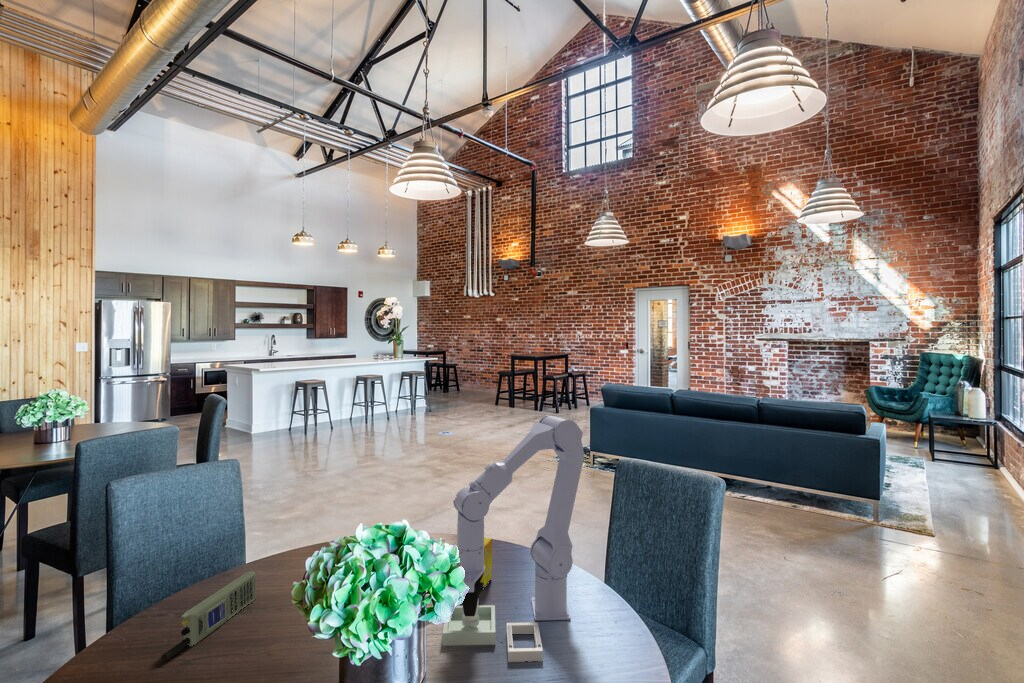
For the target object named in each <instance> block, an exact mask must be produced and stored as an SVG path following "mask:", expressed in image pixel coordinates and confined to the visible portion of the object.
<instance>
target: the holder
mask: <svg viewBox="0 0 1024 683" xmlns="http://www.w3.org/2000/svg"><path fill="white" fill-rule="evenodd" d="M539 627H540V626H539V623H538V622H532V621H531V622H528V621H527V622H506V643H507V646H506V647H507V662H508V663H526V662H525V661H528V662H532V661H538V662H543V661H544V660H543V659H544V656H543V655H544V653H543V652H544V650H543V644H542V638H541V634H540V628H539ZM512 634H534V635H533V642H534V641H535V642H534V646H535V647H517V648H515V647H514V642H513V641H514V639H513V635H512ZM528 662H527V663H528Z"/></svg>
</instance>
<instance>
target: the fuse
mask: <svg viewBox="0 0 1024 683" xmlns="http://www.w3.org/2000/svg"><path fill="white" fill-rule="evenodd" d="M479 600H480V598H478V602H477V608H476V613H475V616H465V615H464V611H463V616H462V625H463V626H465V627H469V628H471V627H475V626H477V625H478V624H479V606H480V605H479Z"/></svg>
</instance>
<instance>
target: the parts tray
mask: <svg viewBox="0 0 1024 683" xmlns="http://www.w3.org/2000/svg"><path fill="white" fill-rule="evenodd" d="M456 606H457V607H456V608H455V609H454V611H453V614H452V618H451V621H450V622H448V623H445V624H444V623H443V629H442V646H443V647H446V646H447V647H449V646H491V645H492V646H493V645H494V646H495V645H496V605H494V604H492V605H491V604H489V605H487V604H486V605H484V604H483V605H481V604H480V605H479V624H478V625H477V626H475V627H471V628H469V627H465V626H463V625H462V616H463V605H456Z"/></svg>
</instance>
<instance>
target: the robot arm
mask: <svg viewBox="0 0 1024 683" xmlns="http://www.w3.org/2000/svg"><path fill="white" fill-rule="evenodd" d="M583 434H584V432H583V431H582V429H581V428H580V426H579V425H578V423H576V422H575V421H574V420H571V419H568V418H567V419H565V418H563V417H559V416H556V415H554V414H546V415H544V416H542V417H541V418H540V419H539V421H537V422H536V423H534V424H533V425H532V427H531V429H530V431H529V432H528V433H527V434H526V435H525V437H523V439H522V440H521V441H520V442H519V443H517V445H516V446H515V447H514V449H512V450H511V452H510V453H509V454H508V455H507V456H506V457H505V458H504V459H503V460H502V461H500V462H493V463H491V464H490V463H489V464H487V465H486V466H485V467H484V469H485V470H484V471H483V472H482V473H481V474H480V475H479V476H478V477H477V478H476V479H475V480H474V481H471V482H469V484H468V486H466V487H462V488H461V489H460V490H459V491H458V492H457V494H456V495H455V496H456V497H455V498H454V499H453V500H452V501H453V502H452V503H453V506H454V508H455V509H456V511H457V525H456V526H457V527H456V530H457V531H456V532H457V533H456V534H457V536H456V538H457V539H456V543H457V544H456V546H457V547H458V550H459V558H460V565H461V566H462V567H463V568H464V570H465V578H464V583H465V584H466V585H467V586H469V588H470V589H469V591H468V593H467V594H466V596H465V599H464V601H463V603H462V602H461V604H462V605H461V606H463V611H464V615H465V616H475V613H476V608H477V602H478V598H479V597H480V595H481V593H482V591H483V590H482V589H483V584H484V583H483V582H480V581H481V579H482V577H483V575H484V571H485V565H484V538H485V516H487V515H488V512H489V510H490V505H491V503H493V501H494V500H495V499H497V497H498V496H499V495H501V493H502V492H503V491H505V489H507V487H508V486H509V485H510V484H511V483H512V482H513V474H514V473H515V472H516V471H517V470H519V469H520V467H522V466H523V465H524V464H526V462H528V461H529V460H530V459H531V458H533V456H535V455H536V454H537V453H538V452H539V451H544V450H552V451H554V453H555V454H556V455H557V457H558V458H559V459H558V464H557V469H556V472H555V478H554V481H553V482H554V484H553V486H552V491H551V496H550V501H549V504H548V505H549V506H548V508H547V515H546V518H545V523H544V525H543V526H542V527H541V528H539V529H538V530H537V534H536V537H535V539H534V540H533V541H532V544H531V546H530V551H529V552H530V553H529V554H530V557H531V559H532V560H533V562H534V597H531V606H532V612H533V619H534V621H569V620H571V619H572V617H571V613H570V611H569V610H570V609H569V608H568V603H567V594H568V593H567V590H568V587H567V586H568V582H567V581H568V574H569V573H570V571H571V570H572V568H573V562H574V561H573V556H572V551H573V543H572V539H571V538H570V535H569V529H570V524H571V520H572V514H573V510H574V506H575V502H576V496H577V491H578V486H579V482H580V478H581V474H582V469H583V465H584V464H583V463H584V460H585V453H584V447H583V441H582V438H583ZM457 547H456V548H457ZM479 599H480V598H479Z"/></svg>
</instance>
